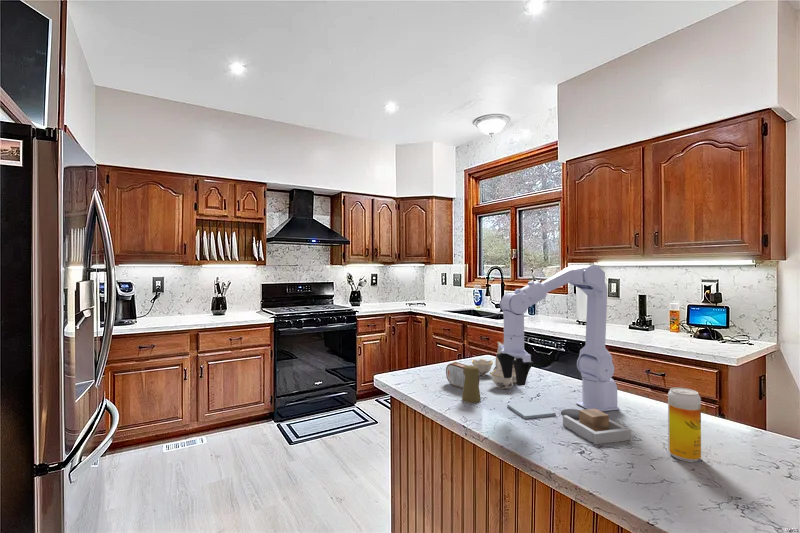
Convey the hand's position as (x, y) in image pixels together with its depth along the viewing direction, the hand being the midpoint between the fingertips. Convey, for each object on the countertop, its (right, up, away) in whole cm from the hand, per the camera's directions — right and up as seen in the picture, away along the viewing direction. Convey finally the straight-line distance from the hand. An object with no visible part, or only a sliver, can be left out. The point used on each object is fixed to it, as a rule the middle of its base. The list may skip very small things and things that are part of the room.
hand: (514, 381), depth 116 cm
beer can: (+32, -10, -25) cm, 42 cm away
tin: (-11, -10, +27) cm, 31 cm away
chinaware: (+5, -10, +36) cm, 38 cm away
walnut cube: (+18, -10, -11) cm, 23 cm away
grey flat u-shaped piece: (+18, -10, -11) cm, 23 cm away
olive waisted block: (-10, -10, +14) cm, 20 cm away
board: (+6, -10, +4) cm, 12 cm away
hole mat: (+18, -10, +1) cm, 21 cm away
